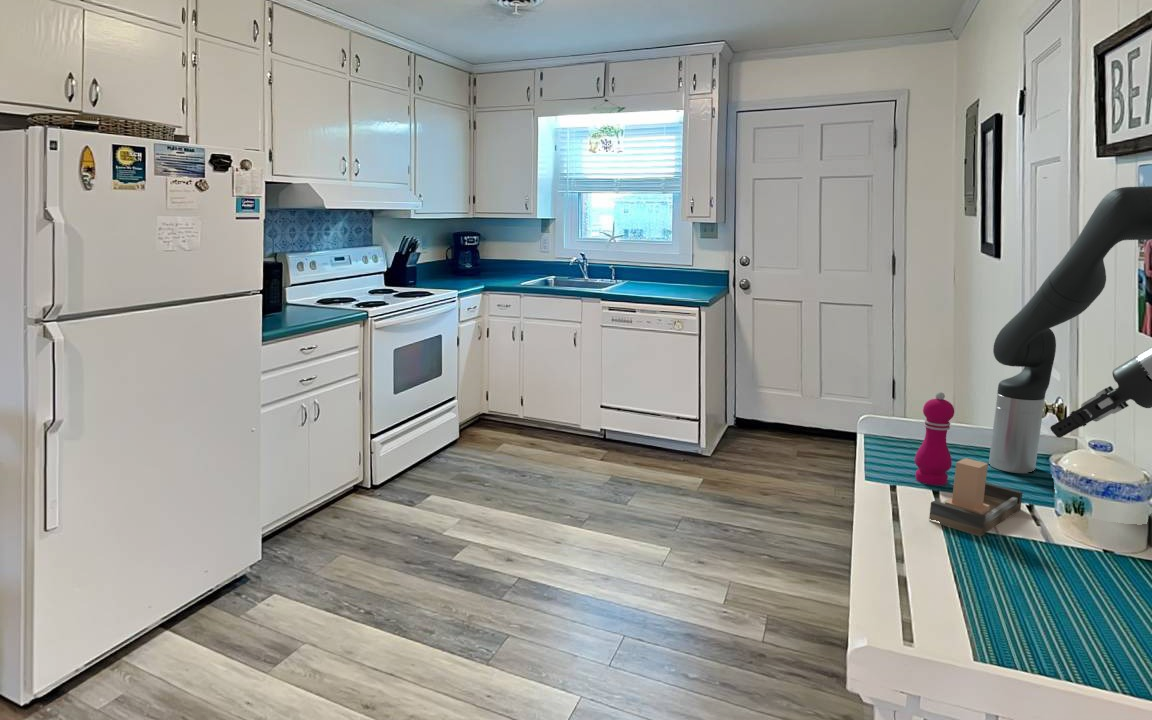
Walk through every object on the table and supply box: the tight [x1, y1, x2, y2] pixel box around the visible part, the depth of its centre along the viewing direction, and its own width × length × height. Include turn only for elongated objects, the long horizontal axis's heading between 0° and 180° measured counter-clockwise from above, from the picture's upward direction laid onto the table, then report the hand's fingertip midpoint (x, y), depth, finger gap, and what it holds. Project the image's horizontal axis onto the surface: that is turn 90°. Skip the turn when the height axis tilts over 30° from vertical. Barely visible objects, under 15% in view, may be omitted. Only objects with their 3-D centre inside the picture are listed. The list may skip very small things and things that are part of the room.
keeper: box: [945, 457, 990, 515], centre depth 130 cm, size 5×6×10 cm
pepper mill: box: [914, 391, 955, 486], centre depth 152 cm, size 7×7×20 cm
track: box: [928, 482, 1024, 538], centre depth 134 cm, size 20×9×4 cm, turn 130°
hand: (1062, 428), depth 118 cm, fingers open, 8 cm apart
